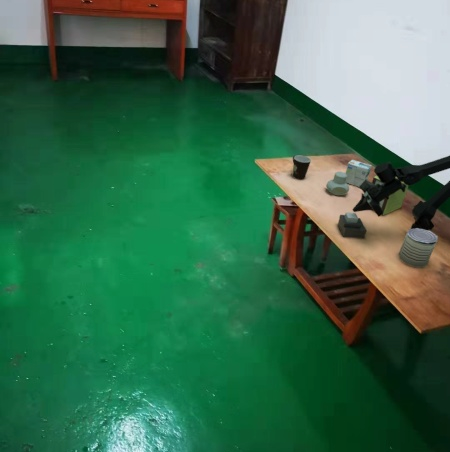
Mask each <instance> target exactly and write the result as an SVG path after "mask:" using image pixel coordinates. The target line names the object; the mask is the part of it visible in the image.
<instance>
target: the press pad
mask: <svg viewBox="0 0 450 452" xmlns="http://www.w3.org/2000/svg"><path fill="white" fill-rule="evenodd" d="M344 215H345V216H344V218H345V220H346V222H349V223H357V221H358V218H359V217H358V215H357V212H349V211H348V212H345V213H344Z"/></svg>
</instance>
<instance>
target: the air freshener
mask: <svg viewBox="0 0 450 452" xmlns="http://www.w3.org/2000/svg"><path fill="white" fill-rule="evenodd" d="M345 173H346V172H342V171H336V172H335V173H334V176H333V178H332V179H330V180H329V181H327V183H326V189H327V191H328V192H329V193H330V194H332V195H335V196H344V195H346V194H347V193H348V192H349V190H350V186H349V183H346V178H347V175H346V174H345Z"/></svg>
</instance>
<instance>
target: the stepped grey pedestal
mask: <svg viewBox="0 0 450 452" xmlns="http://www.w3.org/2000/svg"><path fill="white" fill-rule="evenodd" d="M344 216H345V214H339V219H338V222H337V226H338V228H339V231H340V233H341V235H342V237H343V238H350V239H351V238H354V239H365V237H366V234H367V229H366V227H365V225H364V223H363V221H362V218H360V217H358V221H357V223H349V222H346V220H345V218H344Z"/></svg>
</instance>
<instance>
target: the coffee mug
mask: <svg viewBox="0 0 450 452" xmlns="http://www.w3.org/2000/svg"><path fill="white" fill-rule="evenodd" d="M292 162H293V166H292V167H293V168H292V178H294V179H296V180H304V179H306V176H307V173H308V170H309V167H310V164H311V162H312V159H311V158H310V157H308V156H306V155H299V154H298V155H293V156H292Z"/></svg>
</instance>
